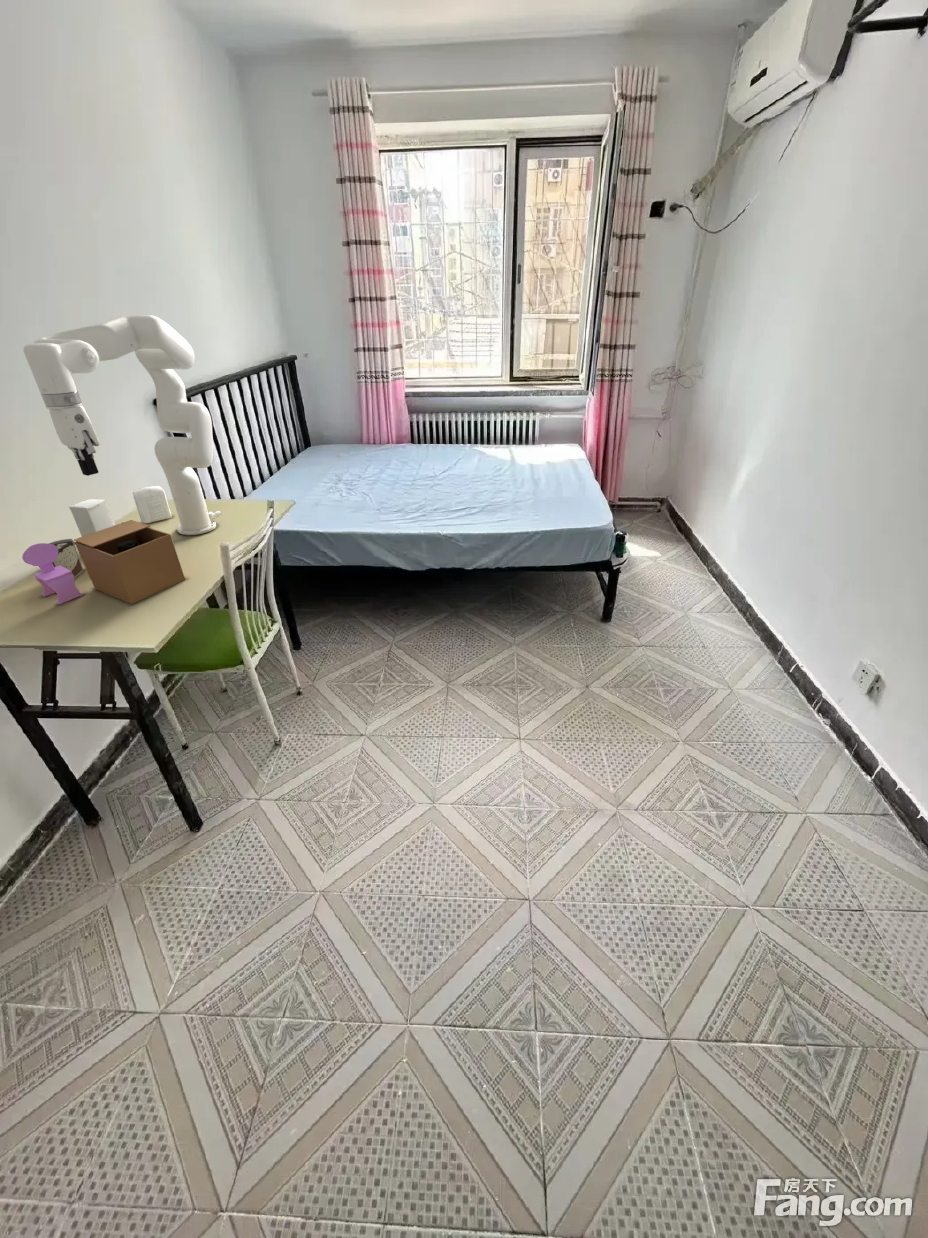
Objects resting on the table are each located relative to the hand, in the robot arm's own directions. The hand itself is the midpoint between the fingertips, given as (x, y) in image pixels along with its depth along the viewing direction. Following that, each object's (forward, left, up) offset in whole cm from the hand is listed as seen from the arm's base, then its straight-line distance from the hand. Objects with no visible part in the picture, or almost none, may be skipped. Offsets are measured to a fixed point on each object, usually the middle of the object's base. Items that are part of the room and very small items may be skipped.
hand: (91, 473), depth 138 cm
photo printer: (-32, -35, -31) cm, 57 cm away
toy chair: (+16, -6, -31) cm, 36 cm away
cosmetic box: (-8, -27, -31) cm, 42 cm away
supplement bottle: (0, +6, -31) cm, 31 cm away
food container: (+10, -17, -31) cm, 37 cm away
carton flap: (+1, +2, -16) cm, 16 cm away
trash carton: (+1, +6, -31) cm, 32 cm away
